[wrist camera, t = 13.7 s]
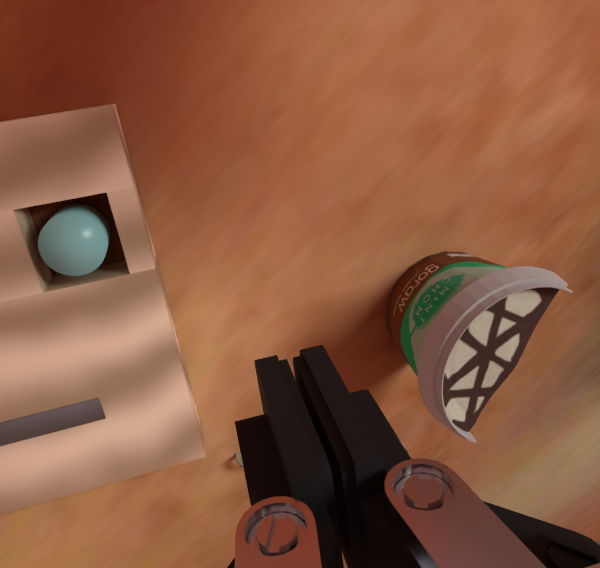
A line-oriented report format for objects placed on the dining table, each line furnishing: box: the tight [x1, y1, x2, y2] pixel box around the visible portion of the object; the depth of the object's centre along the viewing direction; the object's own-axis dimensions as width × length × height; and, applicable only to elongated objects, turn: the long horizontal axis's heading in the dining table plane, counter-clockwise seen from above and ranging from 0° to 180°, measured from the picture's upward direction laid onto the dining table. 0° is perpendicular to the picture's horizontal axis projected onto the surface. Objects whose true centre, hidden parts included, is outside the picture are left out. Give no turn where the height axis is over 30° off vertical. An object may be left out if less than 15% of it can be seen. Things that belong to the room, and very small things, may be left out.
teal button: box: [38, 204, 111, 276], centre depth 31 cm, size 4×4×3 cm
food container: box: [386, 252, 573, 443], centre depth 36 cm, size 12×6×10 cm, turn 152°
